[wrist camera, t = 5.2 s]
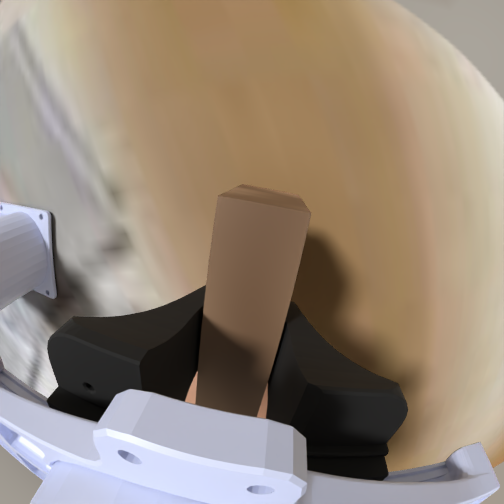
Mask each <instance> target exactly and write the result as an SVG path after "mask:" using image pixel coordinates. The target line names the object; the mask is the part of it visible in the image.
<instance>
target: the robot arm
mask: <svg viewBox="0 0 504 504" xmlns="http://www.w3.org/2000/svg"><path fill="white" fill-rule="evenodd" d="M42 215H43V217H42ZM31 290H34V291H36V292H38V293H40V294H43V295H45V296H47V297H49V298H52V299H54V298H56V297H57V291H56V283H55V275H54V265H53V253H52V235H51V214H50V212H49V211H46V210H41V209H36V208H31V207H26V206H20V205H15V204H10V203H5V202H0V311H1V310H2V309H3V308H5V307H6V306H8V305H9V304H11V303H12V302H14V301H15V300H17V299H19V298H20V297H22V296H23V295H25V294H26V293H28V292H29V291H31ZM205 291H206V285H205V286H203V287H201V288H199V289H198V290H196V291H194V292H192V293H190V294H188V295H186V296H184V297H182V298H180V299H178V300H176V301H173V302H171V303H169V304H167V305H164V306H161V307H158V308H155V309H152V310H149V311H145V312H140V313H135V314H130V315H124V316H115V317H75V316H74V317H72V318H71V319H70V320H69V321H68V322H67V323H65V324H64V325H63V326H62V327H61V328H60V329H58V330H57V331H56V332H55V333H54V334H53V335H52V336H51V337H50V339H49V340H48V347H47V350H48V355H49V360H50V363H51V366H52V369H53V372H54V375H55V377H56V380H57V383H58V387H57V389H56V390H55V391H54V392H53V393H52V394H51V396H50V397H49V398H46V397H45V396H43V395H42V394H40V393H38V392H37V391H35V390H34V389H32V388H31V387H29V386H28V385H26V384H25V383H24V382H22V381H21V380H19V379H18V378H17V377H15V376H14V375H12V374H11V373H10V372H8V371H7V370H6V369H5V368H4V365H3V362H2V359H1V357H0V444H1V446H3V447H4V448H5V449H6V450H7V451H8V452H9V453H10V454H11V455H12V456H14V457H15V458H16V459H17V460H18V461H19V462H20V463H22V464H23V465H24V466H25V467H27V468H28V469H29V470H30V471H31V472H33V473H34V474H35V475H37V476H38V477H39V478H41V479H42V480H43V482H42V484H41V486H40V487H39V489H38V491H37V492H36V494H35V496H34V497H33V499H32V500H31V502H30V504H479V503H481V502H482V501H484V500H485V499H486V498H488V497H489V496H490V495H492V494H493V493H494V492H495V491H497V490H498V489H499V487H500V485H499V482H498V480H497V477H496V475H495V473H494V470H493V468H492V466H491V463H490V461H489V459H488V457H487V455H486V453H485V451H484V448H483V446H482V444H481V442H478V443H474V444H471V445H467V446H464V447H461V448H459V449H458V450H456V451H455V452H453V453H452V454H451V455H450V456H449V457H448V458H447V460H446V461H445V462H441V463H437V464H432V465H428V466H423V467H418V468H412V469H407V470H400V471H393V472H388V469H387V465H386V461H385V457H384V456H386V455H387V454H388V447H387V442H388V441H389V439H390V438H391V437H392V436H393V435H394V433H395V432H396V431H397V430H398V428H399V427H400V426H401V425H402V423H403V421H404V420H405V418H406V416H407V412H408V407H407V403H406V400H405V398H404V396H403V393H402V391H401V389H400V387H399V385H398V383H396V382H393V381H391V380H388V379H386V378H383V377H381V376H378V375H376V374H374V373H372V372H370V371H368V370H366V369H364V368H362V367H360V366H359V365H357V364H355V363H354V362H352V361H351V360H349V359H348V358H346V357H345V356H343V355H342V354H341V353H339V352H338V351H337V350H336V349H334V348H333V347H332V346H331V345H330V344H329V343H328V342H326V341H325V340H324V339H323V338H322V337H321V335H320V334H319V333H318V332H317V331H316V330H315V329H314V328H313V327H312V325H311V324H310V323H309V322H308V320H307V319H306V318H305V316H304V315H303V314H302V312H301V311H300V310H299V308H298V307H297V305H296V304H295V303H294V302H291V301H290V305H289V308H288V312H287V316H286V320H285V323H284V327H283V331H282V334H281V338H280V342H279V345H278V349H277V352H276V356H275V359H274V363H273V366H272V369H271V373H270V376H269V379H268V402H267V412H266V419H265V418H259V417H253V416H247V415H241V414H236V413H231V412H226V411H221V410H217V409H212V408H208V407H204V406H200V405H196V404H192V403H188V402H185V400H186V397H187V394H188V391H189V388H190V386H191V384H192V381H193V379H194V377H195V375H196V373H197V371H198V362H199V350H200V339H201V329H202V319H203V309H204V300H205Z"/></svg>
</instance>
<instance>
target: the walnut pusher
mask: <svg viewBox="0 0 504 504" xmlns="http://www.w3.org/2000/svg"><path fill="white" fill-rule="evenodd" d="M310 217H311V212H310V211H309V209H308V208H307V206H306V205H305V203H304V202H303V200H302V199H301V198H300V196H299V195H297V194H292V193H287V192H282V191H277V190H272V189H266V188H261V187H255V186H250V185H244V184H242V185H240V186H238V187H235V188H233V189H231V190H229V191H227V192H225V193H223V194H221V195H219V196H218V200H217V206H216V213H215V220H214V227H213V235H212V242H211V250H210V257H209V265H208V274H207V282H206V291H205V300H204V309H203V319H202V329H201V339H200V350H199V362H198V374H197V387H196V402H195V404H196V405H200V406H204V407H208V408H212V409H217V410H221V411H226V412H231V413H236V414H241V415H247V416H253V417H257V415H258V412H259V408H260V405H261V402H262V399H263V396H264V392H265V389H266V386H267V383H268V379H269V376H270V373H271V369H272V366H273V363H274V359H275V356H276V352H277V349H278V345H279V342H280V338H281V334H282V331H283V327H284V323H285V320H286V316H287V312H288V308H289V305H290V301H291V297H292V293H293V289H294V285H295V281H296V277H297V273H298V269H299V265H300V261H301V256H302V252H303V248H304V243H305V239H306V235H307V230H308V226H309V221H310Z"/></svg>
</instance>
